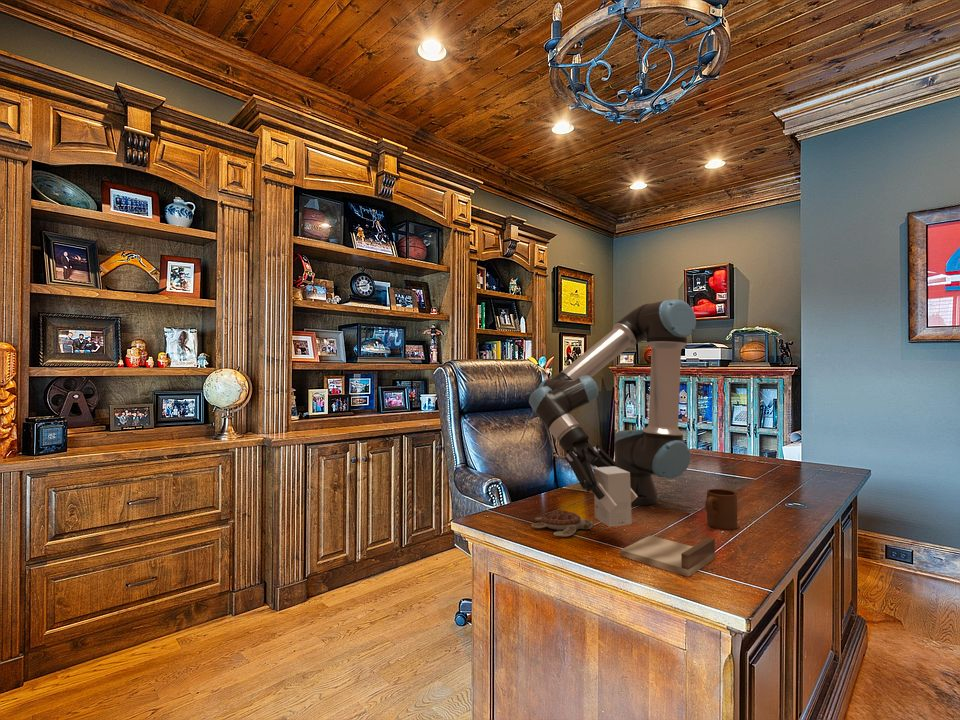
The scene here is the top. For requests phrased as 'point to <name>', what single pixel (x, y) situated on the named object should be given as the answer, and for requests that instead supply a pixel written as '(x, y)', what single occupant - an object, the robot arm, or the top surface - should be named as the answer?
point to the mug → (721, 509)
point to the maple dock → (672, 554)
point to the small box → (614, 496)
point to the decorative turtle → (563, 523)
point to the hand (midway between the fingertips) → (623, 504)
